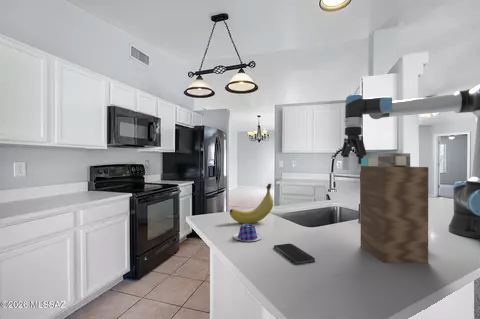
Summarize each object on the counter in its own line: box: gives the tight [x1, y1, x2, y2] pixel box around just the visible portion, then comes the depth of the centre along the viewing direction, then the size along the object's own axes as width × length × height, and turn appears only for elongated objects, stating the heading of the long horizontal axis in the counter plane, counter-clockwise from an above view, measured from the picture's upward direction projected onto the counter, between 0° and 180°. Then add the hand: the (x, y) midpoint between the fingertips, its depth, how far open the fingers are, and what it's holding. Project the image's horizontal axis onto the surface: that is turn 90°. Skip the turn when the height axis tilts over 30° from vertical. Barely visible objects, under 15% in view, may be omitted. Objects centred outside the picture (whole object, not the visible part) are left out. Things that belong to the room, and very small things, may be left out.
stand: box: [360, 152, 429, 264], centre depth 80 cm, size 14×14×34 cm
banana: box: [229, 183, 274, 224], centre depth 119 cm, size 23×6×20 cm, turn 101°
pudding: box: [232, 223, 263, 242], centre depth 96 cm, size 12×12×5 cm
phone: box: [273, 243, 316, 266], centre depth 79 cm, size 8×1×15 cm
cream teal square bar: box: [361, 156, 406, 166], centre depth 86 cm, size 3×22×3 cm, turn 0°
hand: (352, 170), depth 114 cm, fingers open, 13 cm apart
